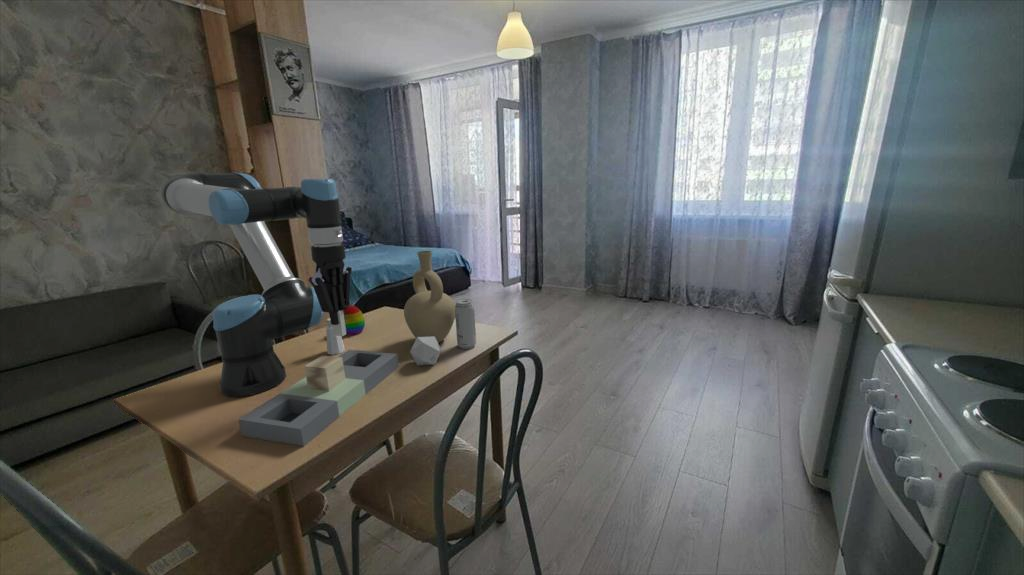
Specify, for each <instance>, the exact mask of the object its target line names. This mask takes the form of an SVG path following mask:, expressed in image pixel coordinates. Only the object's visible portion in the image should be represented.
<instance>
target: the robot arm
mask: <svg viewBox="0 0 1024 575" xmlns="http://www.w3.org/2000/svg"><path fill="white" fill-rule="evenodd" d="M161 198H162V200H163V202H164V204H165V205H166V206H167V208H169V209H170V210H171V211H173V212H175V213H177V214H180V215H186V216H203V215H204V216H208V217H212V218H213V219H214V220H215V222H216V223H217V224H220V225H222V226H227V225H228V226H229V227H230V229H231V231H232V233H233V234H234V236H235V238H236V241H237V242H238V245H239V246H240V248H241V250H242V252H243V253H244V255H245V256H246V260H248V263H249V264H250V266H251V268H252V270H253V272H254V274H255V275H256V278H257V279H258V281H259V283H260V285H261V287H262V289H263V291H262V293H261V294H249V295H243V296H238V297H237V296H236V297H234V298H230V299H229V300H226V301H224V302H222V303H221V304H218V305H217V306H216V307H215V308H214V309H213V310H212V315H211V316H212V321H213V322H212V323H213V326H212V327H213V329H214V331H215V337H216V339H217V344H218V347H219V352H220V356H221V360H222V367H221V376H220V380H219V388H220V392H221V394H222V395H224V396H226V397H233V398H234V397H235V398H236V397H237V398H238V397H248V396H251V395H252V396H253V395H257V394H259V393H262V392H266V391H268V390H271V389H272V388H275V387H277V386H278V385H280V384H281V383H282V382H284V380H285V379H286V377H287V373H286V368H285V366H284V364H283V363H282V361H281V360H280V358H279V357H278V356H277V354H276V352H275V349H274V345H273V340H277V339H279V338H283V337H286V336H287V337H288V336H289V335H292V334H295V333H299V332H302V331H307V330H308V329H311V328H314V327H316V326H318V325H319V324H320V323H321V321H322V320H323V316H324V313H328V315H329V318H330V321H331V324H332V327H333V334H334V335H335V336H341V337H344V336H345V335H347V334H346V327H345V313H344V310H347V308H348V307H347V306H350V305H349V304H350V296H351V295H350V291H351V290H350V288H351V287H350V286H351V285H350V284H351V275H352V271H353V270H352V267H351V266H347V265H345V262H344V260H345V259H346V249H345V244H343V241H344V236H343V229H342V217H341V211H340V210H341V209H340V200H339V194H338V190H337V184H336V182H335V180H334V179H333V178H303V179H302V180H301V182H300V186H286V187H270V188H269V187H267V188H262V186H261V185H260V183H259V182H258V181H257V179H256V178H255V177H253V176H251V175H250V174H249V173H241V172H239V173H238V172H235V171H234V172H229V173H216V172H215V173H213V172H212V173H211V172H210V173H208V172H207V173H205V172H204V173H197V172H196V173H193V172H191V173H185V174H180V175H176V176H174V177H172V178H170V179H168V181H166V182H165V184H164V185H163V187H162V189H161ZM292 219H305V220H306V226H307V235H308V242H309V244H310V245H311V247H310V253H311V259H312V261H313V262H314V263H315V266H316V267H315V275H314V276H313V277H312V276H311V277H309V279H308V281H309V283H310V284H311V285H312V286H306V284H305V282H304V281H303V279H301V278H298V277H295V275H294V273H293V272H292V270H291V268H290V267H289V264H288V263H287V261H286V259H285V257H284V255H283V254H282V252H281V250H280V248H279V246H278V245H277V243H276V240H275V239H274V237H273V235H272V233H271V231H270V230H269V228H268V226H267V224H266V223H265V222H270V221H271V222H272V221H282V220H292Z"/></svg>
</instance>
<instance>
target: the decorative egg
mask: <svg viewBox="0 0 1024 575" xmlns="http://www.w3.org/2000/svg"><path fill="white" fill-rule="evenodd" d="M346 307H348V308H347V310H344V313H345V327H346V335H347V336H352V335H358V334H361V333H362V332H363V331H364V329H365V326H366V320H365V316H364V314H363V312H362V311H361V310H360V309H359V308H358V307H357V306H355V305H352V304H351V305H346Z"/></svg>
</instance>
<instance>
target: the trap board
mask: <svg viewBox="0 0 1024 575" xmlns="http://www.w3.org/2000/svg"><path fill="white" fill-rule="evenodd" d="M337 357H342V359H343V365H344V372H345V379H346V380H344V381H343V382H342V383H340V384H339V385H337V386H336V387H335V388H333V389H332V390H331V391H322V390H314V389H308V384H307V378H306V376H305V377H304V378H302V379H300V380H298V381H297V382H295V383H294V384H293V385H290V386H289V387H288V388H285V389H284V390H283V391H281V392H279V393H278V394H277V395H275V396H273V397H272V398H270V399H269V400H267V401H265V402H263V403H262V404H261V405H259V406H257V407H256V408H254V409H252V410H251V411H249V412H247V413H246V414H245V415H243V416H241V417H240V418H239V419H238V423H239V429H240V432H241V436H242V437H247V438H252V439H260V440H264V441H265V440H266V441H269V442H270V441H271V442H275V443H276V442H277V443H283V444H287V445H295V446H300V447H305V446H306V445H307V444H309V443H310V442H311V441H312V440H314V439H315V438H316V437H317V436H318V435H319V434H321V433H322V432H323V431H324V430H325V429H326V428H328V427H329V426H330V425H331V424H333V423H334V422H335V421H336V420H337V419H339V417H341V416H342V415H343V414H344V413H346V412H347V411H348V410H349V409H351V408H352V406H354V405H356V403H357V402H358V401H360V400H361V399H362V398H363V397H364V396H366V395H367V394H368V393H369V392H371V391H372V390H373V389H374V388H375V387H377V386H378V385H379V384H380V383H382V381H384V380H385V379H386V378H387V377H388V376H390V375H391V374H392V373H394V371H396V370H397V369H398V368H400V367H399V366H400V365H399V358H398V353H390V352H382V351H381V352H380V351H369V350H357V349H348V350H346V351H344V352H342V353H341V354H340V355H338V356H337Z"/></svg>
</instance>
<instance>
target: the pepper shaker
mask: <svg viewBox="0 0 1024 575" xmlns="http://www.w3.org/2000/svg"><path fill="white" fill-rule="evenodd" d="M325 321H326V323H327V326H326V349H327V352H326V353H327V354H328V355H332V356H334V355H339V354H340V355H341V354H343V353H345V352H346V351H345V349H346V348H345V345H344V342H343V338H342V337H343V336H335V335H334V334H333V327H332V324H331V321H330V317H328V318H326V320H325Z"/></svg>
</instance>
